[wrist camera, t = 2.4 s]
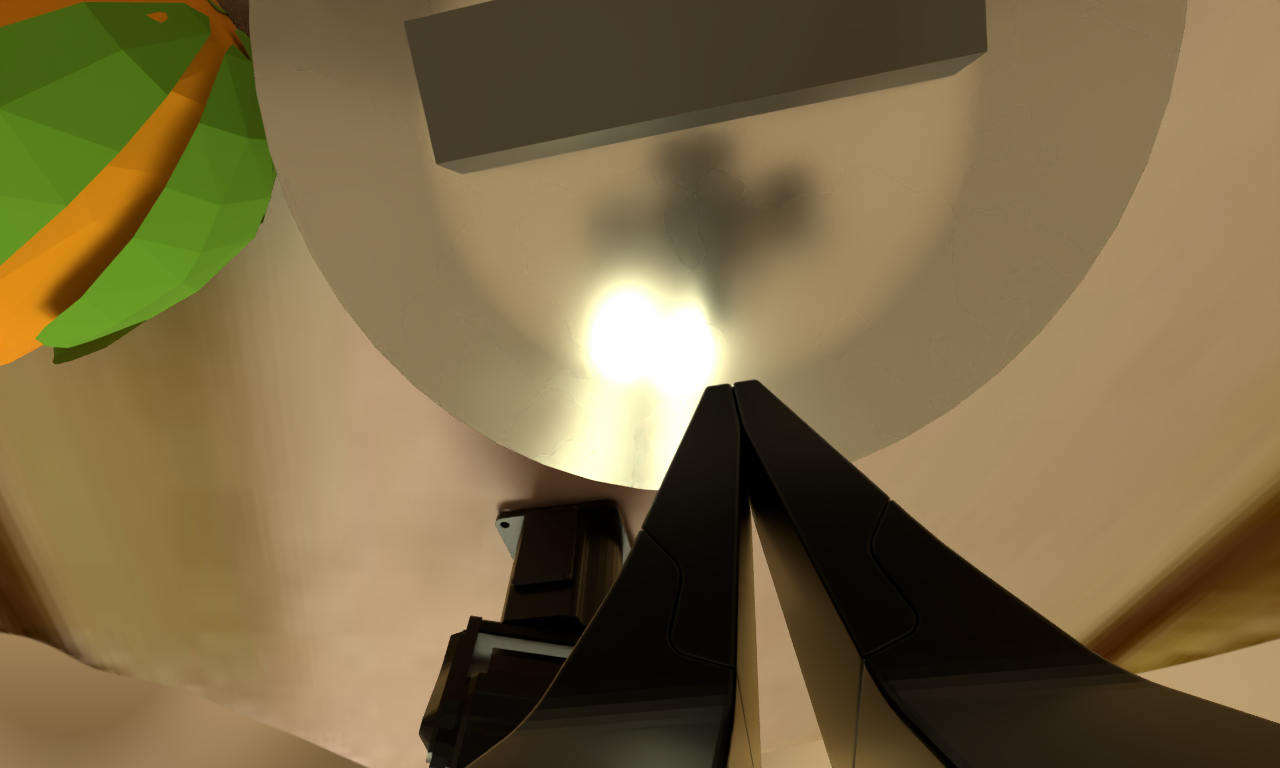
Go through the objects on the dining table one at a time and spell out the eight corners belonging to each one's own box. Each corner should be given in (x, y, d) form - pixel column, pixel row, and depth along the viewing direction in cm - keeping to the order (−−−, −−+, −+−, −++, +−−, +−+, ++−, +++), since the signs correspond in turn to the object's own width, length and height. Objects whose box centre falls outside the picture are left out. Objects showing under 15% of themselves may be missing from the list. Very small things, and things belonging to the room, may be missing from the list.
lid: (1135, 419, 10) (1277, 469, 8) (402, 512, 12) (327, 578, 10) (1139, -659, 8) (1368, -1128, 5) (173, -335, 9) (-24, -563, 7)
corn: (259, 214, 12) (-123, 529, 19) (401, 145, 18) (80, 397, 25) (-137, -194, 9) (-435, 363, 15) (203, -107, 15) (-109, 260, 22)
